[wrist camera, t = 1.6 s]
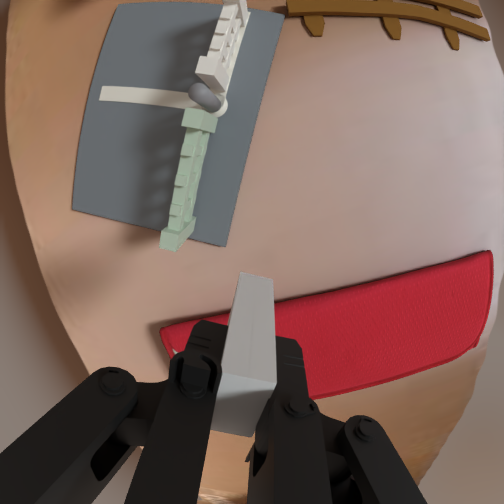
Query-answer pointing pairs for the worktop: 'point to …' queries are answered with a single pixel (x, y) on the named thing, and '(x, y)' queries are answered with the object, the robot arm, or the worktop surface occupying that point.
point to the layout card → (168, 115)
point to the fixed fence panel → (222, 45)
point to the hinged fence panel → (190, 166)
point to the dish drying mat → (379, 325)
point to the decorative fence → (392, 15)
